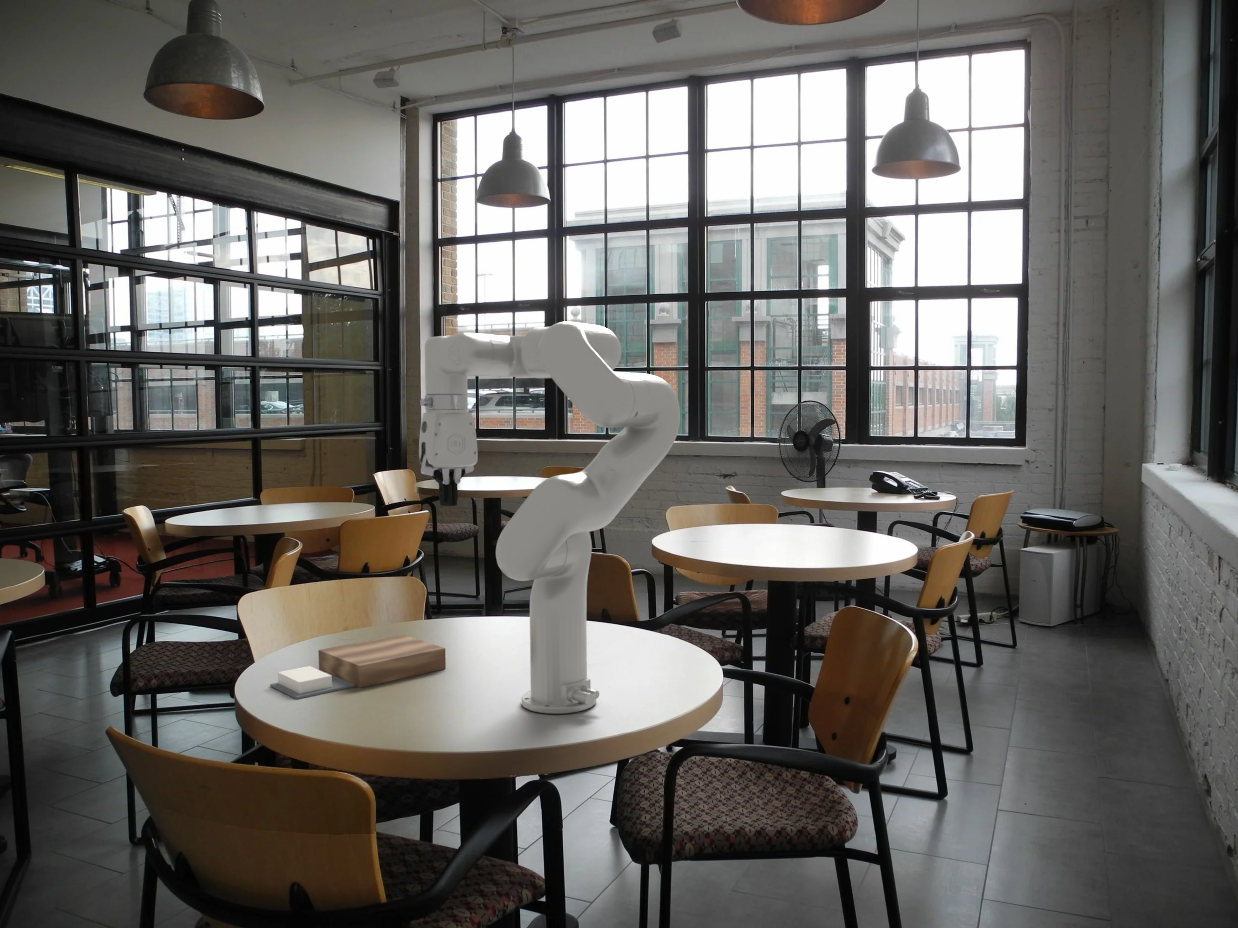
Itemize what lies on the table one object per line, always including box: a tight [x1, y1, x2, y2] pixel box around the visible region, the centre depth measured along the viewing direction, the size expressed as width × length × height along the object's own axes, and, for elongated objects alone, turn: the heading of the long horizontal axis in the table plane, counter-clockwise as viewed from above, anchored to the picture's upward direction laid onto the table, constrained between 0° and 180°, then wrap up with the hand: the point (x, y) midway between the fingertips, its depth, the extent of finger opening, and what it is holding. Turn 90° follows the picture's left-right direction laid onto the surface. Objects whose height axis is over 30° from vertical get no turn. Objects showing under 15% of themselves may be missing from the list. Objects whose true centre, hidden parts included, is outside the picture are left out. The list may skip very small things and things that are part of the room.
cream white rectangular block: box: [277, 665, 332, 694], centre depth 169 cm, size 9×6×2 cm, turn 43°
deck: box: [318, 634, 447, 689], centre depth 180 cm, size 16×18×4 cm
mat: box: [269, 672, 356, 700], centre depth 169 cm, size 11×11×1 cm
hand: (448, 505), depth 172 cm, fingers closed
